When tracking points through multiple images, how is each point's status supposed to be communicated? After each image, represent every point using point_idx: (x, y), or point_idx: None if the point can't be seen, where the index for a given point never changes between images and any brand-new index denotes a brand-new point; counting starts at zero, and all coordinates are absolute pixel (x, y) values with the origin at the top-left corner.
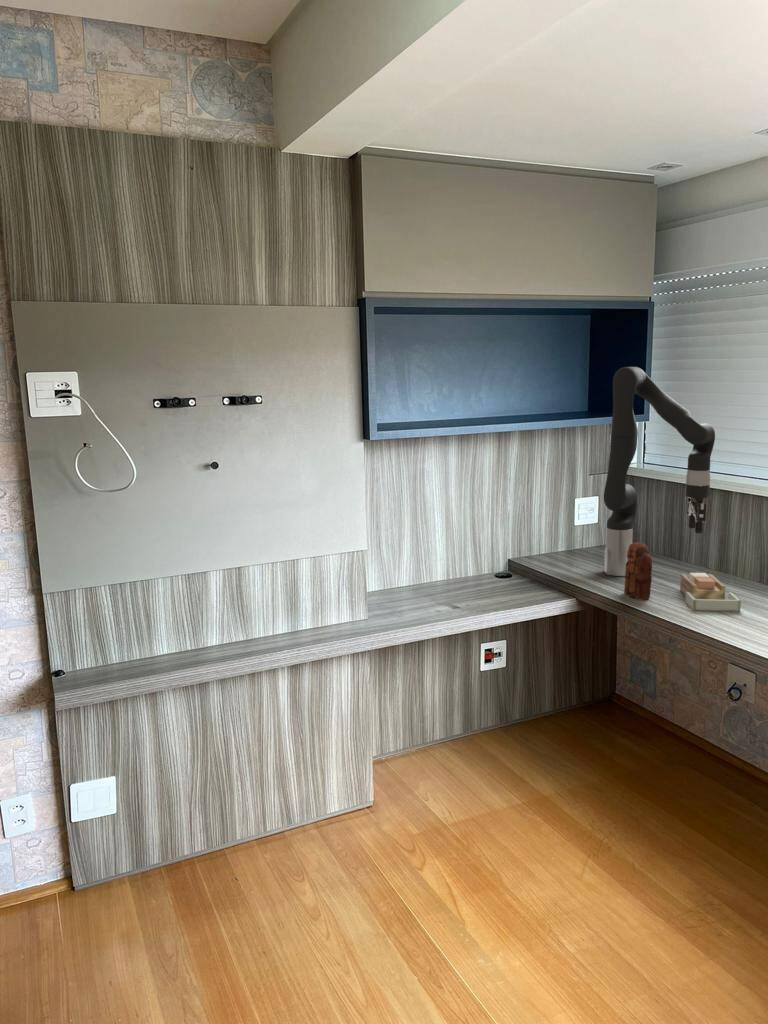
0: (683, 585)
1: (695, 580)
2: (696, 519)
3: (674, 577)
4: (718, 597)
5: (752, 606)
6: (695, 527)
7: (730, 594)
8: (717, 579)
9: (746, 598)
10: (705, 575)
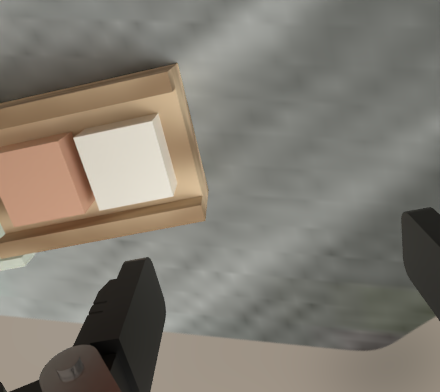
0: (116, 79)
1: (46, 141)
2: (41, 386)
3: (410, 42)
4: None
5: (34, 301)
6: (117, 292)
7: (2, 260)
8: (109, 237)
9: None
10: (117, 194)
